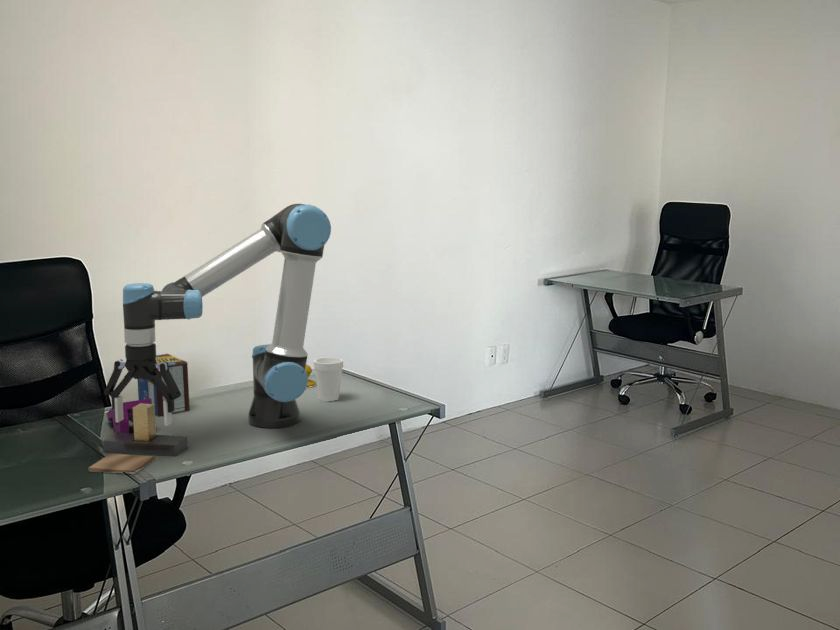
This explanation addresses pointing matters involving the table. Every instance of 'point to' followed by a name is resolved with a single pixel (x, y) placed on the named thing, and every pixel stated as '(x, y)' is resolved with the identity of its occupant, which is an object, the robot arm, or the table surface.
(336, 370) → the foam cup
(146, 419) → the square peg
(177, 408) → the protein box
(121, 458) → the walnut pad
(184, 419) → the table surface
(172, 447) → the rail
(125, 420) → the mounting bracket
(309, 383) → the doorknob
